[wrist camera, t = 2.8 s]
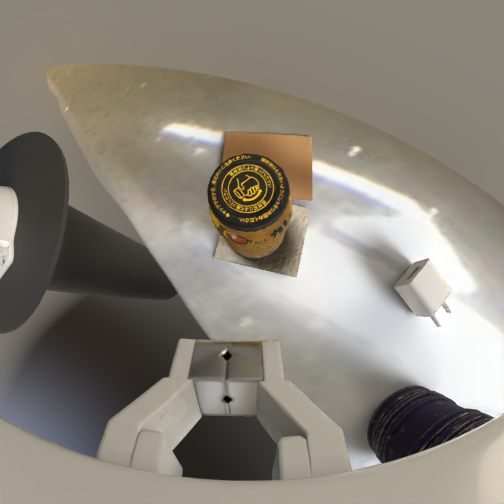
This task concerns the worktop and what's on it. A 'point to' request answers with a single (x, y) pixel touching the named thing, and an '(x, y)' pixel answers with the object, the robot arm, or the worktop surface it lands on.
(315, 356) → the worktop surface
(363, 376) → the worktop surface
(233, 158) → the condiment
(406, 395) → the storage jar
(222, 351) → the robot arm
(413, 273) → the usb wall charger
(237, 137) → the copper flat rectangular plate
